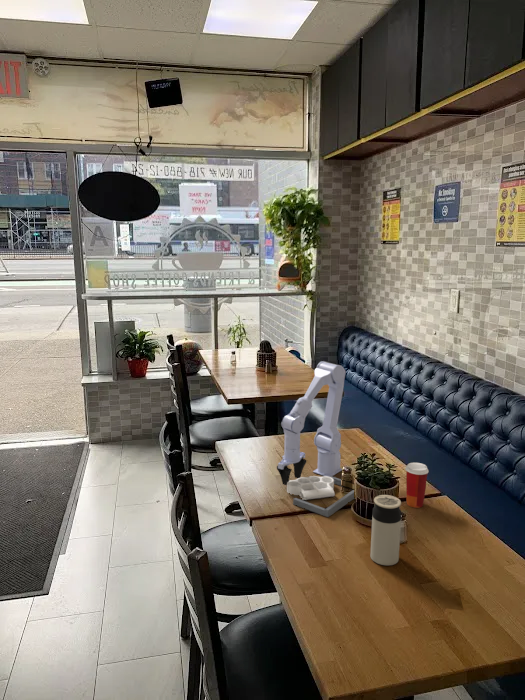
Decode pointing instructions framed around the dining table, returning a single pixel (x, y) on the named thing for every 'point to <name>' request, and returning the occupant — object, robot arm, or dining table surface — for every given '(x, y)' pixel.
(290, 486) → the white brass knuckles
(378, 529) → the travel mug
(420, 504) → the paper cup
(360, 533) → the dining table surface
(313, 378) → the robot arm
